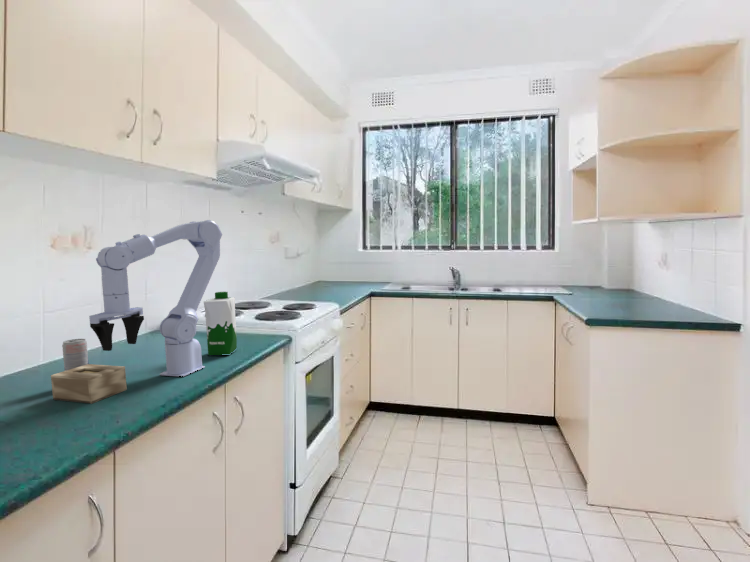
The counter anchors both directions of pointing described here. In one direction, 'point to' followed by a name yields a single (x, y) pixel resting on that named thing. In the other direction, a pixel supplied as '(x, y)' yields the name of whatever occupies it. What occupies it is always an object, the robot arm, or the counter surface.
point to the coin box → (88, 383)
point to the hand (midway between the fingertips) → (120, 347)
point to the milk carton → (220, 324)
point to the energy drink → (75, 353)
